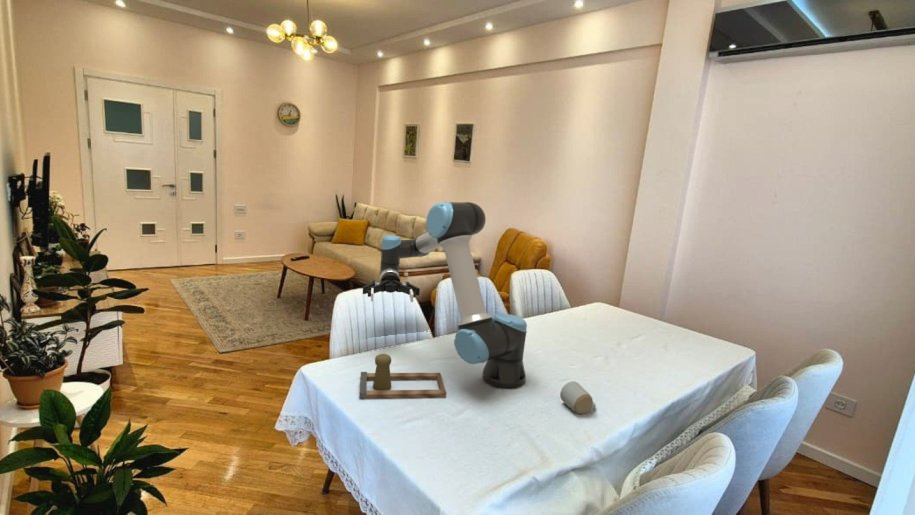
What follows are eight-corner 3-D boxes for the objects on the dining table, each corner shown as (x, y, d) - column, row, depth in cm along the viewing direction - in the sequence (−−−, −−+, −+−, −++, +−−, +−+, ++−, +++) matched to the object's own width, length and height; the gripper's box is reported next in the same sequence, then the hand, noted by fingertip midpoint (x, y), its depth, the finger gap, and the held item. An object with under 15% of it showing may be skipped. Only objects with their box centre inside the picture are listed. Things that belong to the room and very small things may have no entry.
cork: (376, 393, 144) (377, 360, 141) (370, 384, 149) (371, 353, 146) (394, 389, 147) (395, 357, 144) (387, 380, 152) (388, 350, 149)
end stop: (366, 377, 153) (366, 371, 153) (365, 399, 140) (366, 393, 139) (360, 377, 153) (360, 371, 152) (359, 399, 139) (359, 393, 139)
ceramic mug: (573, 417, 139) (577, 394, 138) (558, 403, 147) (561, 381, 145) (600, 412, 144) (605, 390, 142) (584, 399, 151) (588, 378, 149)
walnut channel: (439, 376, 158) (440, 372, 157) (446, 397, 144) (446, 393, 144) (366, 377, 153) (366, 373, 153) (365, 399, 140) (366, 394, 139)
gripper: (421, 290, 179) (427, 309, 158) (356, 289, 174) (354, 307, 154) (422, 272, 177) (429, 288, 157) (357, 270, 172) (355, 286, 152)
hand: (392, 298), depth 155 cm, fingers open, 13 cm apart
